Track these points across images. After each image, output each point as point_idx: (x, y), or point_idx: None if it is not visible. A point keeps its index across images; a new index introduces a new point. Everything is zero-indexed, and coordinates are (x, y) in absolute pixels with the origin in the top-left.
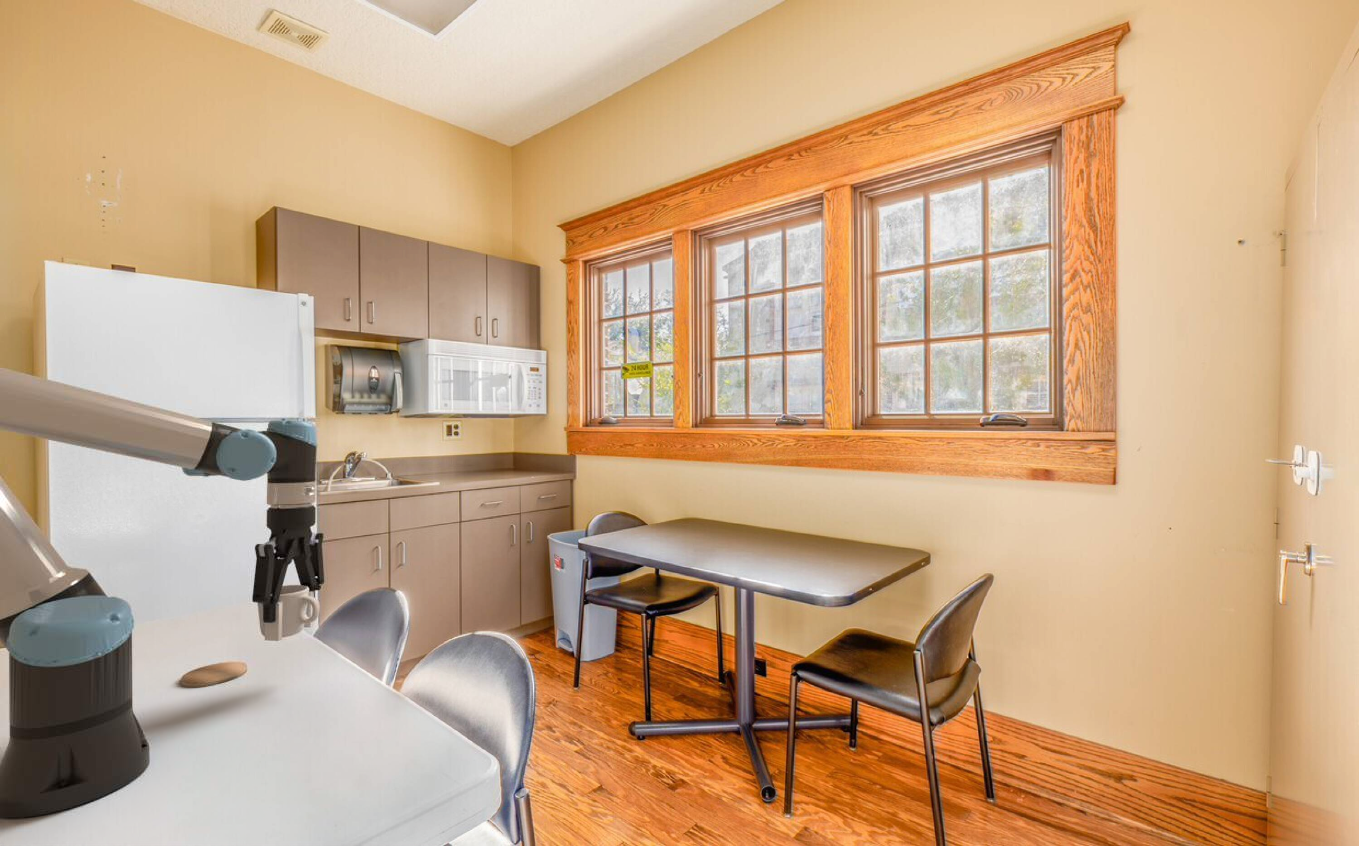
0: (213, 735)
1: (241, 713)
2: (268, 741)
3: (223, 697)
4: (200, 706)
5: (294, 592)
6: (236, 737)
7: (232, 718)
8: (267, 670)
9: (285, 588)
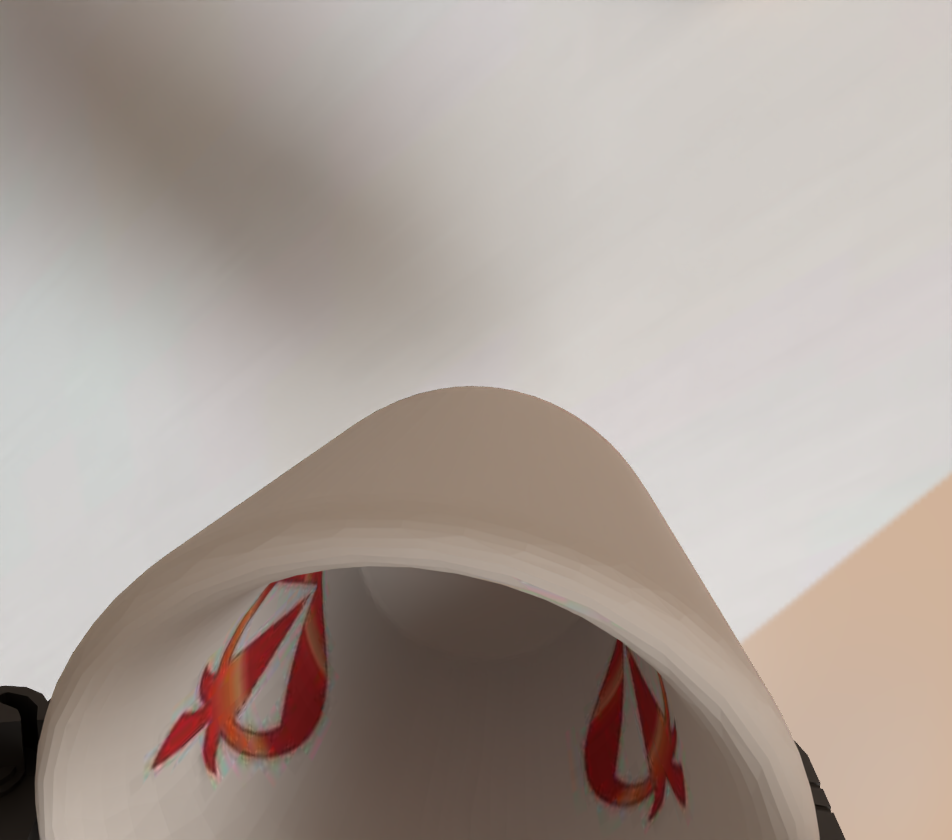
0: (37, 405)
1: (226, 384)
2: (35, 638)
3: (393, 147)
4: (281, 102)
5: (704, 815)
6: (39, 507)
7: (178, 377)
8: (805, 126)
9: (721, 745)
